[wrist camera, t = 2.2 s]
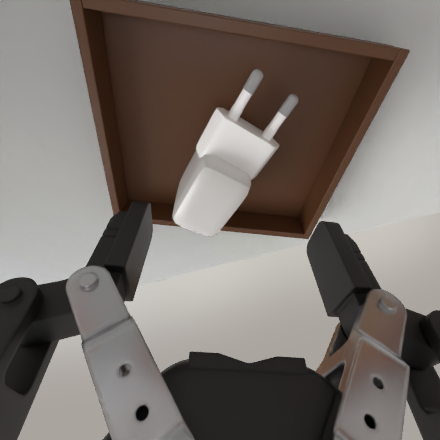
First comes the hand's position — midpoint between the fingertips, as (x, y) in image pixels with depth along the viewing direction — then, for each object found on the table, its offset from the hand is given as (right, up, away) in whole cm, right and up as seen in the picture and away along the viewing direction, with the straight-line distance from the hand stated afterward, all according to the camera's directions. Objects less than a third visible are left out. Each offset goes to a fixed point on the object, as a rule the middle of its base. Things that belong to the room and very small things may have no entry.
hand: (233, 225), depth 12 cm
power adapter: (0, +7, +8) cm, 10 cm away
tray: (0, +7, +8) cm, 11 cm away
